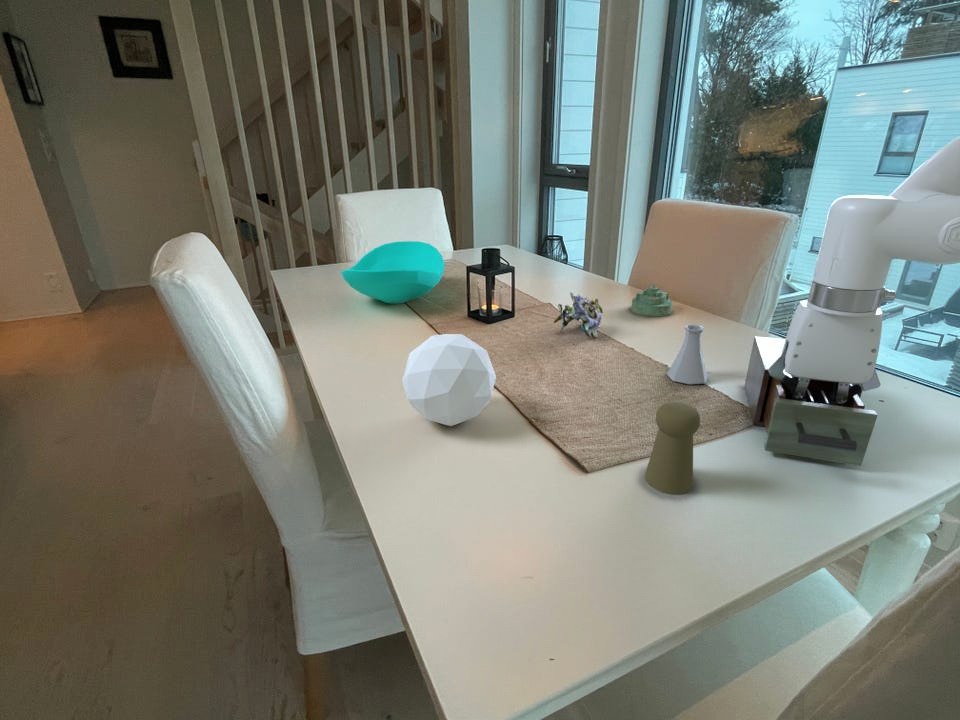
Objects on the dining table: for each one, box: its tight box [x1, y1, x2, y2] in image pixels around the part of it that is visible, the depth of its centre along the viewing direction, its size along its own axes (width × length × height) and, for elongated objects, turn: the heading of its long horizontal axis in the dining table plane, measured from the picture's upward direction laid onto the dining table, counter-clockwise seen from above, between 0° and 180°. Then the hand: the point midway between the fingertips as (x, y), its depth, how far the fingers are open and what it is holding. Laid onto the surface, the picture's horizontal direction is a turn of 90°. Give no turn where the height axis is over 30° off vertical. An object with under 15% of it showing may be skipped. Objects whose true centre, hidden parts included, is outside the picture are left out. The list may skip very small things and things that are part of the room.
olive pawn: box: [644, 400, 701, 495], centre depth 65 cm, size 6×6×11 cm
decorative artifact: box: [630, 283, 674, 317], centre depth 132 cm, size 10×7×10 cm
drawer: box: [762, 376, 878, 467], centre depth 72 cm, size 18×11×8 cm, turn 159°
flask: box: [666, 323, 708, 385], centre depth 94 cm, size 7×7×10 cm
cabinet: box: [744, 335, 863, 428], centre depth 82 cm, size 15×13×10 cm
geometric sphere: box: [401, 333, 497, 427], centre depth 81 cm, size 14×15×15 cm
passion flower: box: [553, 292, 604, 338], centre depth 117 cm, size 11×11×12 cm
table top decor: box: [340, 240, 446, 304], centre depth 145 cm, size 40×28×13 cm
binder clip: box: [805, 389, 829, 405], centre depth 72 cm, size 5×3×4 cm, turn 159°
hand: (810, 420), depth 73 cm, fingers closed on binder clip, 2 cm apart
